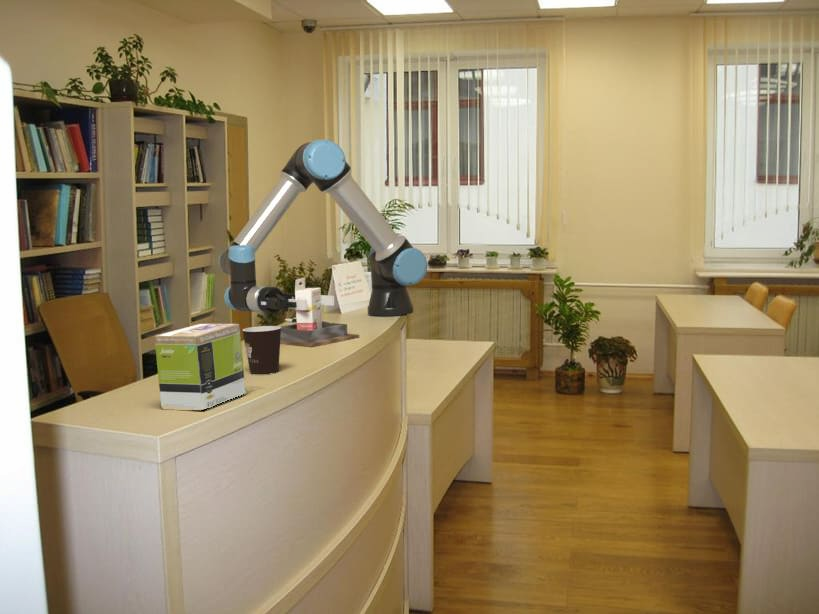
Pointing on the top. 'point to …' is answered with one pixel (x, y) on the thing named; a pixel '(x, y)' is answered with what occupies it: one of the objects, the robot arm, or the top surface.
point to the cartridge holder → (315, 335)
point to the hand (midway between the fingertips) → (319, 302)
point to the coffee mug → (263, 348)
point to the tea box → (200, 365)
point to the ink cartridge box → (308, 306)
